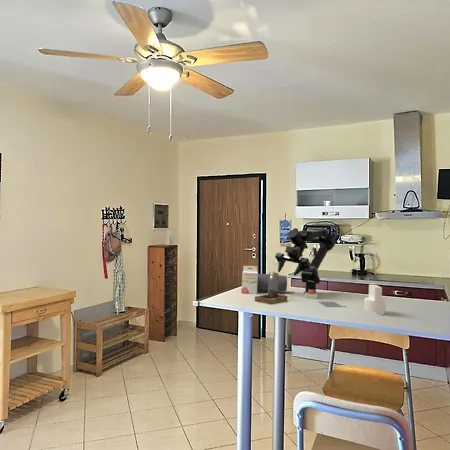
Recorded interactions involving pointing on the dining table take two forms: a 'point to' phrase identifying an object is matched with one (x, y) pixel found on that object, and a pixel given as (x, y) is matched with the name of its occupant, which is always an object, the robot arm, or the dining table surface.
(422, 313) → the dining table surface
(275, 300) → the wooden tray
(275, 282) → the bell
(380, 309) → the base with upright slab
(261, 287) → the bluetooth speaker
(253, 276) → the ink cartridge box
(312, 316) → the dining table surface
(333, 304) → the grey flat panel
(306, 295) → the white square base
